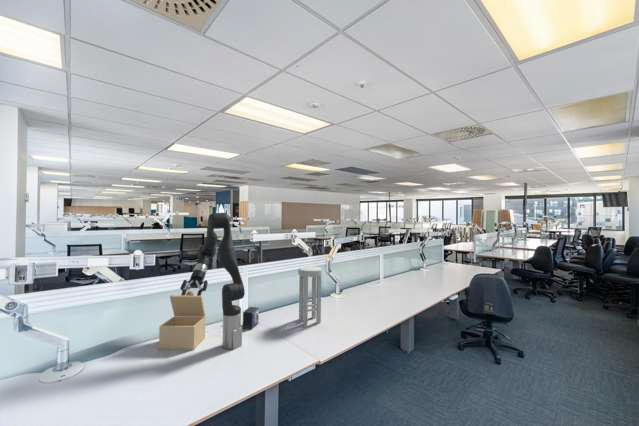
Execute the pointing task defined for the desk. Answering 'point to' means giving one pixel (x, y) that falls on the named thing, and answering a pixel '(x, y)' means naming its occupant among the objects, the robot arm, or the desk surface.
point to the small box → (250, 318)
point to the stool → (303, 306)
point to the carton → (181, 333)
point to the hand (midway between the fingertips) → (190, 296)
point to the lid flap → (187, 305)
